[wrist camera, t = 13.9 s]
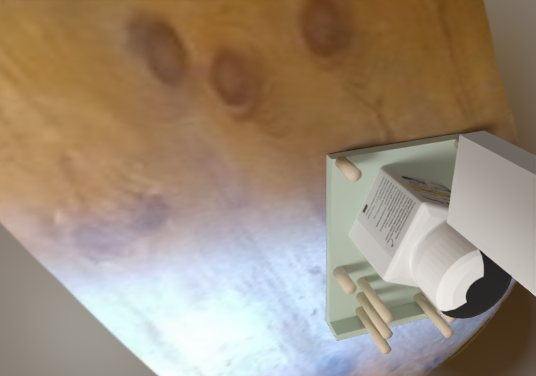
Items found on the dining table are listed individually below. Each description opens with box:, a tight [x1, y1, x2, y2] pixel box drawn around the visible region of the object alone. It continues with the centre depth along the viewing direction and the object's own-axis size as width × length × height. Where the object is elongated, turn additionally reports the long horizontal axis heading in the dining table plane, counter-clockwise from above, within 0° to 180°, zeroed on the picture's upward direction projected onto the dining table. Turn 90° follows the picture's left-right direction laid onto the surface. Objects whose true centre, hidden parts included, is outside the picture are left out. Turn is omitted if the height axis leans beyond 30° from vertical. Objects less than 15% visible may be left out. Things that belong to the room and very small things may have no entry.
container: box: [348, 167, 512, 319], centre depth 40 cm, size 8×8×13 cm
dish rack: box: [325, 133, 462, 354], centre depth 45 cm, size 20×14×7 cm
